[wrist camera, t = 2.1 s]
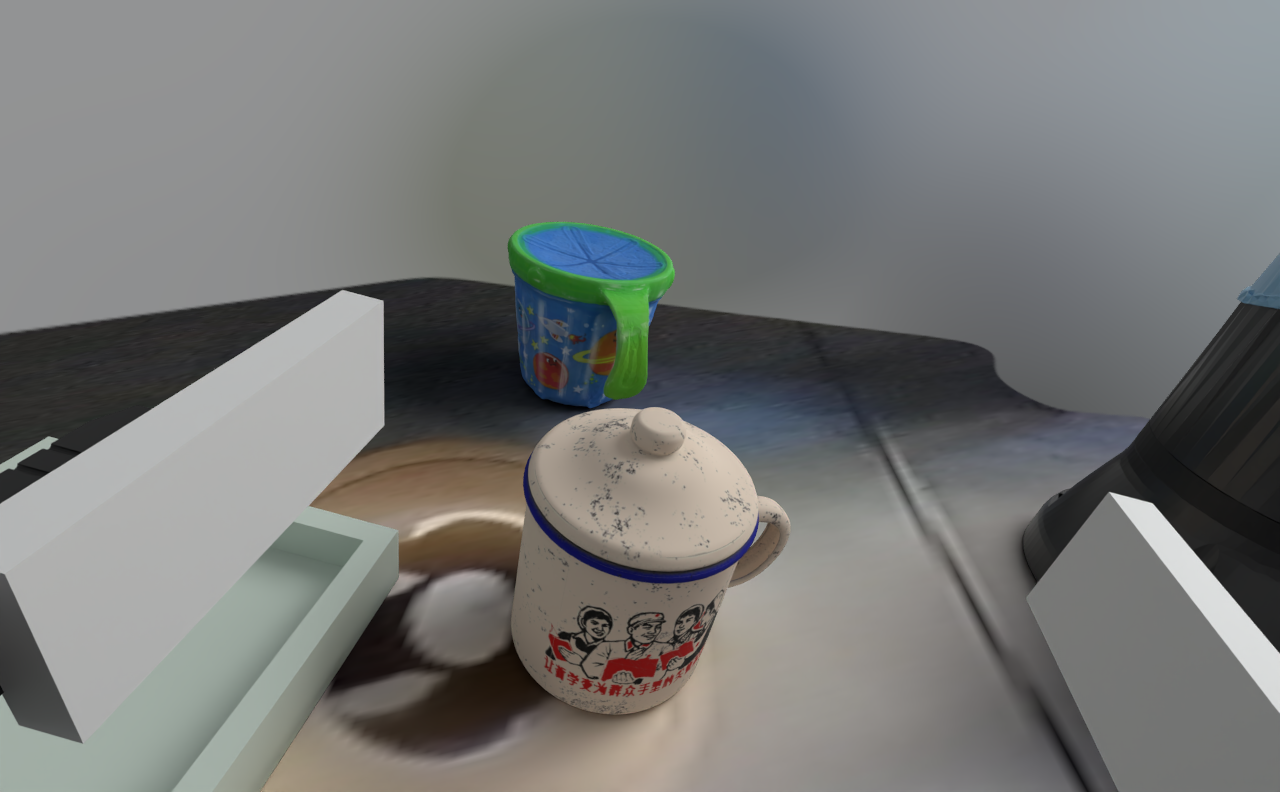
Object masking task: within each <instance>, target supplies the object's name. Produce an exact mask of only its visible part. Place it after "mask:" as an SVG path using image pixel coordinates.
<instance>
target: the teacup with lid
mask: <svg viewBox="0 0 1280 792" xmlns="http://www.w3.org/2000/svg"><path fill="white" fill-rule="evenodd" d="M523 487H524V495H525V498H526V502H527V505H526V512H525V519H524V526H523V534H522V541H521V548H520V556H519V563H518V570H517V577H516V585H515V592H514V599H513V607H512V614H511V629H512V637H513V642H514V645H515V648H516V651H517V653H518V655H519V658H520V660H521V661H522V663H523V665H524V666H525V668H526V669H527V671H528V672H529V673H530V675H531V676H532V677H533V678H534V679H535V681H536V682H537V683H538V684H539V685H541V686H542V687H543V688H544V689H545V690H546V691H548V692H549V693H550V694H552V695H553V696H555V697H556V698H558V699H560V700H561V701H563V702H565V703H567V704H569V705H571V706H574V707H577V708H579V709H582V710H586V711H590V712H595V713H601V714H612V715H613V714H629V713H635V712H639V711H643V710H646V709H649V708H652V707H654V706H656V705H658V704H661V703H662V702H664V701H666V700H667V699H669V698H670V697H672V696H673V695H674V694H675V693H677V692H678V691H679V690H680V689H681V688H682V687H683V686H684V684H685V683H686V682H687V681H688V679H689V678H690V676H691V674H692V673H693V671H694V669H695V667H696V665H697V662H698V660H699V657H700V655H701V652H702V650H703V647H704V645H705V642H706V640H707V637H708V635H709V633H710V630H711V628H712V625H713V623H714V620H715V618H716V615H717V613H718V610H719V608H720V605H721V603H722V600H723V598H724V595H725V593H726V590H727V588H729V587H733V586H736V585H739V584H742V583H744V582H746V581H748V580H750V579H752V578H754V577H755V576H757V575H758V574H760V573H761V572H762V571H764V570H765V569H766V568H767V567H768V566H769V565H770V564H771V563H772V562H773V561H774V560H775V559H776V558H777V557H778V556H779V554H780V553H781V551H782V550H783V548H784V547H785V545H786V543H787V541H788V538H789V535H790V529H791V526H790V521H789V518H788V516H787V515H786V513H785V512H784V510H783V509H782V508H781V506H780V505H779V504H778V503H776V502H775V501H773V500H772V499H769V498H767V497H762V496H757V494H756V490H755V487H754V484H753V482H752V479H751V477H750V475H749V474H748V472H747V470H746V469H745V467H744V466H743V464H742V463H741V462H740V460H739V459H738V458H737V457H736V456H735V455H734V454H733V453H732V452H731V451H730V450H729V449H728V448H727V447H726V446H725V445H724V444H722V443H721V442H720V441H718V440H717V439H716V438H714V437H713V436H711V435H710V434H708V433H706V432H705V431H703V430H701V429H700V428H698V427H696V426H694V425H692V424H689V423H687V422H685V421H682V419H681V418H680V417H679V416H678V415H677V414H675V413H674V412H672V411H670V410H667V409H664V408H658V407H651V408H646V409H643V410H639V409H624V408H616V409H601V410H595V411H590V412H586V413H582V414H579V415H576V416H574V417H571V418H569V419H567V420H565V421H563V422H561V423H560V424H558V425H557V426H555V427H554V428H553V429H551V430H550V431H549V432H548V433H547V434H546V435H545V436H544V437H543V438H542V439H541V440H540V441H539V443H538V444H537V445H536V447H535V449H534V451H533V452H532V453H531V455H530V457H529V459H528V461H527V464H526V467H525V472H524V480H523ZM759 522H767V523H768V524H767V526H766V528H765V530H764V532H763V533H762V535H761V536H760V537H759V539H758V540H757V541H756V542H755V543H754V544H753V545H752V543H753V540H754V538H755V536H756V533H757V529H758V523H759ZM751 545H752V546H751ZM750 546H751V547H750Z"/></svg>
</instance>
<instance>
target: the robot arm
mask: <svg viewBox="0 0 1280 792" xmlns="http://www.w3.org/2000/svg"><path fill="white" fill-rule="evenodd" d="M1237 299H1238V300H1239V301H1241V303H1240V304H1239V305H1238V307H1237V308H1236V309H1235V311H1234V312H1233V313H1232V315H1231V316H1230V317H1229V319H1228V320H1227V321H1226V323H1225V324H1224V325H1223V326H1222V328H1221V329H1220V331H1219V332H1218V333H1217V334H1216V336H1215V337H1214V338H1213V339H1212V341H1211V342H1210V343H1209V345H1208V346H1207V347H1206V348H1205V350H1204V351H1203V352H1202V354H1201V355H1200V356H1199V357H1198V359H1197V360H1196V361H1195V362H1194V364H1193V365H1192V366H1191V367H1190V369H1189V370H1188V371H1187V373H1186V374H1185V375H1184V377H1183V378H1182V379H1181V381H1180V382H1179V383H1178V384H1177V385H1176V387H1175V388H1174V389H1173V390H1172V392H1171V393H1170V394H1169V396H1168V397H1167V398H1166V399H1165V401H1164V402H1163V403H1162V405H1161V406H1160V407H1159V408H1158V410H1157V411H1156V412H1155V413H1154V415H1153V416H1152V417H1151V419H1150V420H1149V421H1148V423H1147V424H1146V425H1145V427H1144V428H1143V429H1142V430H1141V432H1140V433H1139V434H1138V436H1137V437H1136V438H1135V440H1134V441H1133V442H1132V443H1131V445H1130V446H1129V447H1128V448H1126V449H1125V450H1124V451H1123V452H1121V453H1120V454H1118V455H1117V456H1115V457H1114V458H1113V459H1111V460H1110V461H1108V462H1107V463H1105V464H1104V465H1102V466H1101V467H1099V468H1098V469H1097V470H1095V471H1094V472H1092V473H1091V474H1089V475H1088V476H1087V477H1085V478H1084V479H1083V480H1081V481H1080V482H1078V483H1077V484H1076V485H1074V486H1073V487H1072V488H1071V489H1066V490H1063V491H1061V492H1060V493H1058V494H1056V495H1054V496H1053V497H1051V498H1050V499H1049V500H1048V501H1047V502H1046V503H1045V504H1044V505H1043V506H1042V507H1041V509H1040V510H1039V512H1038V513H1037V514H1036V516H1035V517H1034V518H1033V520H1032V521H1031V523H1030V524H1029V525H1028V527H1027V528H1026V530H1025V533H1024V538H1023V547H1024V552H1025V556H1026V559H1027V562H1028V564H1029V567H1030V569H1031V571H1032V573H1033V575H1034V576H1035V578H1036V580H1037V581H1038V583H1037V584H1036V586H1035V587H1034V588H1033V589H1032V591H1031V592H1030V593H1029V594H1028V596H1027V597H1026V600H1027V602H1028V604H1029V606H1030V608H1031V610H1032V612H1033V614H1034V617H1035V619H1036V621H1037V623H1038V625H1039V627H1040V629H1041V631H1042V633H1043V635H1044V637H1045V640H1046V642H1047V644H1048V646H1049V648H1050V650H1051V652H1052V654H1053V656H1054V658H1055V660H1056V662H1057V665H1058V667H1059V669H1060V671H1061V673H1062V675H1063V677H1064V679H1065V681H1066V683H1067V685H1068V688H1069V690H1070V692H1071V694H1072V696H1073V698H1074V700H1075V702H1076V704H1077V706H1078V708H1079V711H1080V713H1081V715H1082V717H1083V719H1084V721H1085V723H1086V725H1087V727H1088V729H1089V731H1090V733H1091V736H1092V738H1093V740H1094V742H1095V744H1096V746H1097V748H1098V750H1099V752H1100V754H1101V756H1102V759H1103V761H1104V763H1105V765H1106V767H1107V769H1108V771H1109V773H1110V775H1111V777H1112V779H1113V782H1114V784H1115V786H1116V788H1117V790H1118V792H1280V254H1279V255H1278V256H1277V257H1276V258H1275V259H1274V261H1273V262H1272V263H1271V264H1270V265H1269V266H1268V268H1267V269H1266V270H1265V271H1264V272H1263V274H1262V275H1261V276H1260V277H1259V278H1258V279H1257V280H1256V282H1255V283H1254V284H1253V285H1252V286H1250V287H1247V288H1245V289H1244V290H1242V292H1241V293H1240V295H1239V296H1238V298H1237ZM383 426H384V319H383V301H382V300H378V299H374V298H370V297H367V296H363V295H359V294H355V293H351V292H348V291H344V290H342V291H340V292H339V293H337V294H336V295H334V296H332V297H331V298H329V299H328V300H326V301H324V302H323V303H321V304H320V305H318V306H316V307H315V308H313V309H312V310H310V311H308V312H307V313H305V314H304V315H302V316H300V317H299V318H297V319H296V320H294V321H292V322H291V323H289V324H288V325H286V326H284V327H283V328H281V329H280V330H278V331H276V332H275V333H273V334H271V335H270V336H268V337H267V338H265V339H263V340H262V341H260V342H259V343H257V344H255V345H254V346H252V347H251V348H249V349H247V350H246V351H244V352H243V353H241V354H239V355H238V356H236V357H235V358H233V359H231V360H230V361H228V362H227V363H225V364H223V365H222V366H220V367H219V368H217V369H215V370H214V371H212V372H211V373H209V374H207V375H206V376H204V377H203V378H201V379H199V380H198V381H196V382H195V383H193V384H191V385H190V386H188V387H187V388H185V389H183V390H182V391H180V392H179V393H177V394H175V395H174V396H172V397H171V398H169V399H167V400H166V401H164V402H162V403H161V404H159V405H158V406H156V407H154V408H153V409H151V408H147V407H143V406H140V405H136V406H133V407H130V408H127V409H124V410H121V411H118V412H115V413H112V414H109V415H106V416H103V417H100V418H97V419H94V420H91V421H89V422H87V423H85V424H84V425H82V426H80V427H79V428H77V429H75V430H73V431H72V432H70V433H68V434H67V435H65V436H63V437H61V438H60V439H58V440H56V441H55V442H53V443H51V446H50V448H49V449H41V450H39V451H37V452H36V453H34V454H32V455H31V456H29V457H27V458H26V459H24V460H22V461H20V462H19V463H17V467H16V468H15V469H9V468H8V469H7V470H5V471H3V472H2V473H0V696H1V695H3V697H4V699H5V701H6V703H7V705H8V706H9V708H10V710H11V712H12V714H13V716H14V717H15V719H16V721H17V723H18V725H20V726H23V727H26V728H30V729H33V730H37V731H40V732H44V733H47V734H51V735H54V736H58V737H61V738H65V739H68V740H71V741H75V742H78V743H82V744H84V743H85V742H86V741H87V740H88V739H89V737H90V736H91V735H92V734H93V733H94V732H95V731H96V730H97V729H98V728H99V727H100V726H101V725H102V724H103V723H104V722H105V721H106V719H107V718H108V717H109V716H110V715H111V714H112V713H113V712H114V711H115V710H116V709H117V708H118V707H119V706H120V705H121V704H122V703H123V701H124V700H125V699H126V698H127V697H128V696H129V695H130V694H131V693H132V692H133V691H134V690H135V689H136V688H137V687H138V686H139V685H140V683H141V682H142V681H143V680H144V679H145V678H146V677H147V676H148V675H149V674H150V673H151V672H152V671H153V670H154V669H155V668H156V667H157V665H158V664H159V663H160V662H161V661H162V660H163V659H164V658H165V657H166V656H167V655H168V654H169V653H170V652H171V651H172V650H173V649H174V647H175V646H176V645H177V644H178V643H179V642H180V641H181V640H182V639H183V638H184V637H185V636H186V635H187V634H188V633H189V632H190V631H191V629H192V628H193V627H194V626H195V625H196V624H197V623H198V622H199V621H200V620H201V619H202V618H203V617H204V616H205V615H206V614H207V613H208V611H209V610H210V609H211V608H212V607H213V606H214V605H215V604H216V603H217V602H218V601H219V600H220V599H221V598H222V597H223V596H224V595H225V593H226V592H227V591H228V590H229V589H230V588H231V587H232V586H233V585H234V584H235V583H236V582H237V581H238V580H239V579H240V578H241V577H242V575H243V574H244V573H245V572H246V571H247V570H248V569H249V568H250V567H251V566H252V565H253V564H254V563H255V562H256V561H257V560H258V559H259V557H260V556H261V555H262V554H263V553H264V552H265V551H266V550H267V549H268V548H269V547H270V546H271V545H272V544H273V543H274V542H275V541H276V539H277V538H278V537H279V536H280V535H281V534H282V533H283V532H284V531H285V530H286V529H287V528H288V527H289V526H290V525H291V524H292V523H293V521H294V520H295V519H296V518H297V517H298V516H299V515H300V514H301V513H302V512H303V511H304V510H305V509H306V508H307V507H308V506H309V505H310V503H311V502H312V501H313V500H314V499H315V498H316V497H317V496H318V495H319V494H320V493H321V492H322V491H323V490H324V489H325V488H326V487H327V485H328V484H329V483H330V482H331V481H332V480H333V479H334V478H335V477H336V476H337V475H338V474H339V473H340V472H341V471H342V470H343V469H344V467H345V466H346V465H347V464H348V463H349V462H350V461H351V460H352V459H353V458H354V457H355V456H356V455H357V454H358V453H359V452H360V451H361V449H362V448H363V447H364V446H365V445H366V444H367V443H368V442H369V441H370V440H371V439H372V438H373V437H374V436H375V435H376V434H377V433H378V431H379V430H380V429H381V428H382V427H383Z"/></svg>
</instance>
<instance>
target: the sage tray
mask: <svg viewBox="0 0 1280 792" xmlns="http://www.w3.org/2000/svg"><path fill="white" fill-rule="evenodd" d="M56 440H58V439H56V438H52V437H47V438H46V439H44V440H42V441H40V442H39V443H37V444H35V445H33V446H32V447H30V448H28V449H27V450H25V451H23V452H21V453H20V454H18V455H16V456H14V457H13V458H11V459H9V460H8V461H6V462H4V463H2V464H1V465H0V473H2V472H3V471H5V470H7V469H8V468H9V469H15V468H16V467H17V463H19V462H20V461H22V460H24V459H26V458H27V457H29V456H31V455H32V454H34V453H36V452H37V451H39V450H41V449H49V448H50V446H51V443H53V442H55V441H56ZM398 578H399V558H398V530H396V529H392V528H388V527H384V526H381V525H377V524H373V523H369V522H366V521H362V520H358V519H355V518H351V517H347V516H343V515H340V514H336V513H332V512H328V511H325V510H321V509H317V508H313V507H310V506H308V507H307V508H306V509H305V510H304V511H303V512H302V513H301V514H300V515H299V516H298V517H297V518H296V519H295V520H294V521H293V523H292V524H291V525H290V526H289V527H288V528H287V529H286V530H285V531H284V532H283V533H282V534H281V535H280V536H279V537H278V538H277V539H276V541H275V542H274V543H273V544H272V545H271V546H270V547H269V548H268V549H267V550H266V551H265V552H264V553H263V554H262V555H261V556H260V557H259V559H258V560H257V561H256V562H255V563H254V564H253V565H252V566H251V567H250V568H249V569H248V570H247V571H246V572H245V573H244V574H243V575H242V577H241V578H240V579H239V580H238V581H237V582H236V583H235V584H234V585H233V586H232V587H231V588H230V589H229V590H228V591H227V592H226V593H225V595H224V596H223V597H222V598H221V599H220V600H219V601H218V602H217V603H216V604H215V605H214V606H213V607H212V608H211V609H210V610H209V611H208V613H207V614H206V615H205V616H204V617H203V618H202V619H201V620H200V621H199V622H198V623H197V624H196V625H195V626H194V627H193V628H192V629H191V631H190V632H189V633H188V634H187V635H186V636H185V637H184V638H183V639H182V640H181V641H180V642H179V643H178V644H177V645H176V646H175V647H174V649H173V650H172V651H171V652H170V653H169V654H168V655H167V656H166V657H165V658H164V659H163V660H162V661H161V662H160V663H159V664H158V665H157V667H156V668H155V669H154V670H153V671H152V672H151V673H150V674H149V675H148V676H147V677H146V678H145V679H144V680H143V681H142V682H141V683H140V685H139V686H138V687H137V688H136V689H135V690H134V691H133V692H132V693H131V694H130V695H129V696H128V697H127V698H126V699H125V700H124V701H123V703H122V704H121V705H120V706H119V707H118V708H117V709H116V710H115V711H114V712H113V713H112V714H111V715H110V716H109V717H108V718H107V719H106V721H105V722H104V723H103V724H102V725H101V726H100V727H99V728H98V729H97V730H96V731H95V732H94V733H93V734H92V735H91V736H90V737H89V739H88V740H87V741H86V742H85V743H84V744H82V743H78V742H75V741H71V740H68V739H65V738H61V737H58V736H54V735H51V734H47V733H44V732H40V731H37V730H33V729H30V728H26V727H23V726H20V725H18V723H17V721H16V719H15V717H14V716H13V714H12V712H11V710H10V708H9V706H8V705H7V703H6V701H5V699H4V697H3V695H1V696H0V792H260V791H261V789H262V787H263V786H264V784H265V783H266V781H267V780H268V778H269V777H270V775H271V774H272V772H273V771H274V769H275V767H276V766H277V764H278V763H279V761H280V760H281V758H282V757H283V755H284V754H285V752H286V750H287V749H288V747H289V746H290V744H291V743H292V741H293V740H294V738H295V737H296V735H297V734H298V732H299V730H300V729H301V727H302V726H303V724H304V723H305V721H306V720H307V718H308V717H309V715H310V713H311V712H312V710H313V709H314V707H315V706H316V704H317V703H318V701H319V700H320V698H321V697H322V695H323V693H324V692H325V690H326V689H327V687H328V686H329V684H330V683H331V681H332V680H333V678H334V677H335V675H336V673H337V672H338V670H339V669H340V667H341V666H342V664H343V663H344V661H345V660H346V658H347V656H348V655H349V653H350V652H351V650H352V649H353V647H354V646H355V644H356V643H357V641H358V640H359V638H360V636H361V635H362V633H363V632H364V630H365V629H366V627H367V626H368V624H369V623H370V621H371V619H372V618H373V616H374V615H375V613H376V612H377V610H378V609H379V607H380V606H381V604H382V603H383V601H384V599H385V598H386V596H387V595H388V593H389V592H390V590H391V589H392V587H393V586H394V584H395V583H396V581H397V579H398Z"/></svg>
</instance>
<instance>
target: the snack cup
mask: <svg viewBox="0 0 1280 792" xmlns="http://www.w3.org/2000/svg"><path fill="white" fill-rule="evenodd" d="M508 252H509V261H510V266H511V268H512V272H513V274H514V275H515V293H516V298H515V302H516V315H517V328H518V346H519V356H520V367H521V372H522V377H523V379H524V380H525V381H526V383H527V384H528V385H529V386H530V387H531V388H532V389H533V390H534V392H535V394H537V395H538V396H539V397H540V398H541V399H549V400H551V401H554V402H558V403H561V404H565V405H573V406H587V407H588V408H594V407H596V406H599V405H600V404H602V403H605V402H607V401H610V400H612V399H616V400H617V399H622V398H629V397H632V396H634V395H637V394H638V393H639V392H640V391H641V390H642V389H643V388H644V386H645V384H646V380H647V361H648V360H647V351H648V328H649V325H650V323H651V321H652V318H653V315H654V312H655V309H656V306H657V303H658V301H659V300H660V299H661V298H662V296H663V295H664V294H665V292H666V291H667V289H669V288H670V286H671V285H672V283H673V280H674V276H675V270H674V269H673V264H672V261H671V259H670V258H669V256H668V255H667V254H666V253H665V252H664V251H662V250H661V249H660V248H658V247H656V246H655V245H653V244H651V243H650V242H647V241H645V240H643V239H641V238H639V237H636V236H634V235H630V234H628V233H625V232H622V231H618V230H614V229H610V228H606V227H601V226H596V225H591V224H583V223H572V222H546V223H538V224H532V225H528V226H525V227H522V228H520V229H519V230H517V231H516V232H515V233H514V234H513V235H512V236H511V237H510V239H509V242H508Z"/></svg>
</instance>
